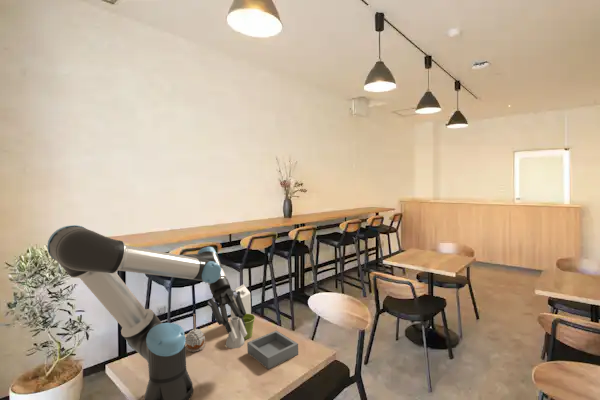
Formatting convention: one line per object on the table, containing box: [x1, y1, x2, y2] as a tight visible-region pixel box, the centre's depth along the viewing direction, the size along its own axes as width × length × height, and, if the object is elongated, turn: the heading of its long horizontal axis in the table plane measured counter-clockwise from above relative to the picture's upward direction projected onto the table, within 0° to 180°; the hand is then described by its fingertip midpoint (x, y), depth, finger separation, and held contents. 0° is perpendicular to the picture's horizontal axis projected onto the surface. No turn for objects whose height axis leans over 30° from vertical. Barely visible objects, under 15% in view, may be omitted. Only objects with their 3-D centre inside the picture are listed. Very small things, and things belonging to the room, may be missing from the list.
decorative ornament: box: [185, 313, 206, 352], centre depth 138 cm, size 8×8×15 cm
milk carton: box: [230, 283, 252, 319], centre depth 159 cm, size 7×7×19 cm
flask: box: [225, 317, 245, 350], centre depth 121 cm, size 7×7×10 cm
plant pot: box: [243, 313, 256, 340], centre depth 148 cm, size 9×9×9 cm
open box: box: [246, 330, 299, 370], centre depth 133 cm, size 15×15×4 cm
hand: (240, 337), depth 118 cm, fingers closed on flask, 3 cm apart
